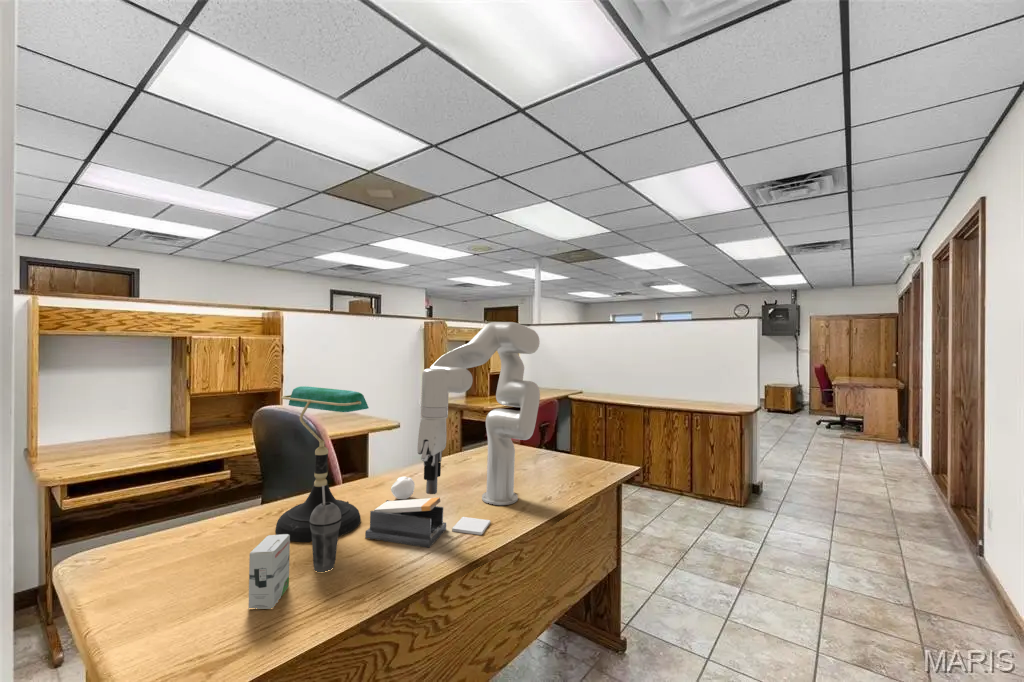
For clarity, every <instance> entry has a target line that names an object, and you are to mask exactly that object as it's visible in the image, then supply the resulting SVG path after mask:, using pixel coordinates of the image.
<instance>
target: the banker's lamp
mask: <svg viewBox="0 0 1024 682" xmlns="http://www.w3.org/2000/svg"><path fill="white" fill-rule="evenodd" d="M281 399H282V400H288V406H291V407H299V408H303V409H302V410H301V413H300V415H299V421H300V423H301V425H303V427H304V428H306V430H307V431H308V432H309V433H310V434H311V435H312V436H313V437H314V438H315V439H316V440H317V441H318V442H319V446H318V447H317V448H316V449H315V450H314V455H315V457H314V458H315V461H314V472H313V473H314V478H315V480H314V482H313V486H312V488H311V489H310V490H311V491H310V492H309V495H308V496H307V498H306V500H305V501H304V502H302V503H299V504H297V505H295V506H293V507H291V508H290V509H287V510H286V511H285V512H283V514H282V515H281V516H279V518H278V520H276V521H277V522H276V525H275V531H274V532H275V535H281V534H288V535H290V542H299V543H310V542H311V541H312V532H311V529H310V524H309V521H310V516H311V514H312V512H313V510H314V509H315V508H316V507H317V506H318V505H319V504H321V503H323V495H322V486H324V489H325V502H331V503H334V504H335V505H337V506H338V508H339V509H340V512H341V517H342V520H341V524H340V528H339V534H338V537H341V535H342V536H344V535H347V534H348V533H350V532H351V531H353V530H355V529H356V528H358V526H359V525H360V524H361V521H362V519H361V514H360V511H359V509H358V508H357V507H356V506H355V505H353V504H352V503H350V502H349V500H347V501H344V500H341V499H336V498H335V497H334V495H333V493H332V491H331V489H330V487H329V484H328V480H327V479H326V478H327V476H328V472H329V471H328V454H329V449H328V447H326V446H325V440H324V439H321V438H320V437H319V436H318V434H317V433H316V432H315V431H314V430H313V429H312V428H311V427H310V426H309V425H308V424H307V423H306V421H305V420H304V419H303V418H304V415H305V413H306V412H307V409H314V410H321V411H330V412H336V413H350V412H351V413H352V412H355V411H357V412H358V411H363V410H367V409H369V406H368V402H367V401H366V398H365V396H364V395H363V393H361V392H359V391H356V390H355V391H353V390H348V389H347V390H346V389H337V388H329V387H326V388H325V387H319V386H318V387H317V386H309V385H308V386H307V385H305V386H303V385H302V386H296V387H295V388H293V389H292V391H291V394H288V395H282V396H281ZM311 543H312V542H311Z"/></svg>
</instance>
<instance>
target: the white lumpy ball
mask: <svg viewBox="0 0 1024 682" xmlns="http://www.w3.org/2000/svg"><path fill="white" fill-rule="evenodd" d="M414 490H415V481H414V480H413V479H412V477H407V476H399V477H398V478H397V479H396V480H395V482H394V483H392V485H391V488H390V492H391V493H392V495H393V496H394V497H395V498H396V499H398V500H408V499H409V498H410V497H411V496H412V495H413V494H414V492H415V491H414Z"/></svg>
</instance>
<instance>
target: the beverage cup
mask: <svg viewBox="0 0 1024 682" xmlns="http://www.w3.org/2000/svg"><path fill="white" fill-rule="evenodd" d="M322 495H323V503H321V504H319V505H318V506H317V507H316V508H315V509H314V510H313V512H312V514H311V516H310V521H309V524H310V529H311V532H312V542H311V545H312V546H311V548H312V549H311V550H312V561H313V571H314V570H315V571H317V572H325V571H328V570H331V569H332V568H335V563H336V558H337V551H338V544H339V543H338V541H339V536H338V534H339V528H340V524H341V520H342V517H341V512H340V509H339V508H338V506H337V505H335V504H334V503H331V502H325V489H324V486H322ZM332 570H333V569H332ZM332 570H331V571H332ZM315 571H314V572H315ZM317 572H316V573H317ZM325 573H326V572H325Z"/></svg>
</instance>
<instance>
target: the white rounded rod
mask: <svg viewBox="0 0 1024 682" xmlns="http://www.w3.org/2000/svg"><path fill="white" fill-rule="evenodd" d="M430 453H431V452H428V454H430ZM429 458H432V457H429ZM434 466H436V473H435V480H434V481H431V480H426V485H425V486H426V490H425V493H426V494H427V495H436V494H438V479H439V477H438V453H437V454H435V464H434Z"/></svg>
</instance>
